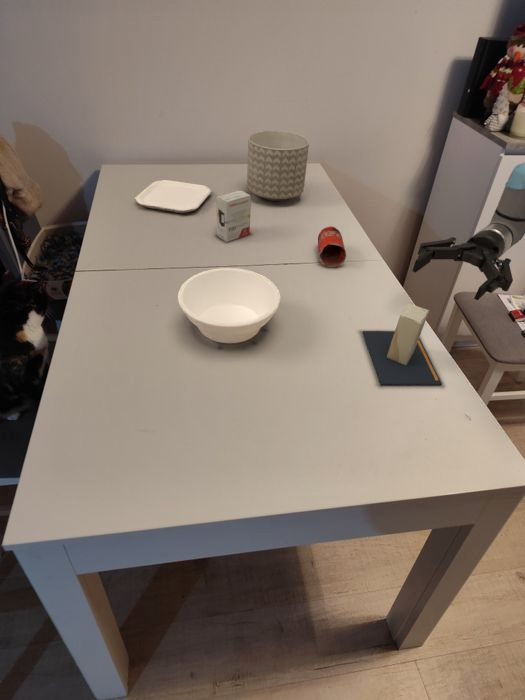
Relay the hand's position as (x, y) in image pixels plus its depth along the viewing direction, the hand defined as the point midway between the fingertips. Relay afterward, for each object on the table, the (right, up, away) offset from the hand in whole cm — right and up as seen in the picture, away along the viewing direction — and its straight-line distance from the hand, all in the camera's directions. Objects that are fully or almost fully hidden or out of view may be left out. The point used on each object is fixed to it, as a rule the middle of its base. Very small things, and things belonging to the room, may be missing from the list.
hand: (445, 279), depth 89 cm
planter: (-33, +38, +61) cm, 79 cm away
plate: (-65, +34, +54) cm, 92 cm away
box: (-9, -15, +2) cm, 18 cm away
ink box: (-45, +19, +39) cm, 62 cm away
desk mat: (-9, -16, +2) cm, 18 cm away
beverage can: (-19, +11, +32) cm, 39 cm away
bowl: (-44, -9, +7) cm, 46 cm away
